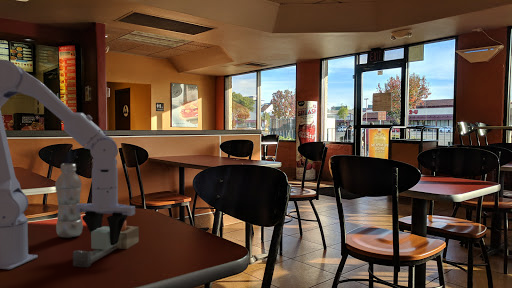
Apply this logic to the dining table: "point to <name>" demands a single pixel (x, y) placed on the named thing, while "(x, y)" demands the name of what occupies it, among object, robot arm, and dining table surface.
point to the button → (123, 227)
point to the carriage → (101, 238)
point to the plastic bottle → (68, 202)
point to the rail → (89, 256)
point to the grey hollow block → (128, 237)
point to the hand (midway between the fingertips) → (105, 243)
